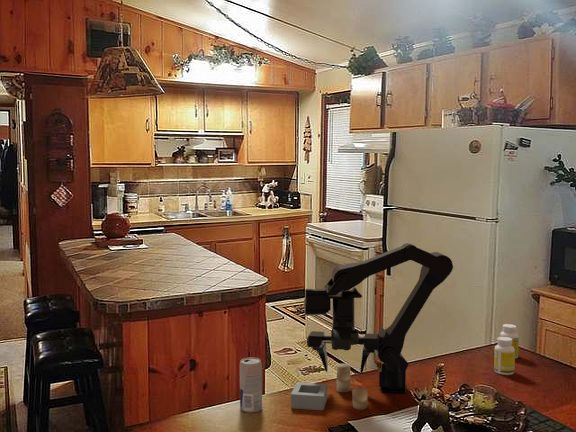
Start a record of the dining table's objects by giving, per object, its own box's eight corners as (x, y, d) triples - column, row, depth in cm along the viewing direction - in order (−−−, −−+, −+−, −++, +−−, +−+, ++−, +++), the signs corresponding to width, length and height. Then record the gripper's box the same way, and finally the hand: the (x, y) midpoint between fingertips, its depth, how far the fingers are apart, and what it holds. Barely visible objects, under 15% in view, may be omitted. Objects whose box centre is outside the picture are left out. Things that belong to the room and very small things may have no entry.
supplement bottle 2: (518, 372, 161) (519, 339, 161) (506, 376, 158) (507, 342, 158) (501, 367, 166) (502, 334, 165) (490, 371, 163) (490, 338, 162)
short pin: (367, 403, 141) (367, 388, 140) (366, 409, 137) (366, 393, 137) (353, 402, 141) (353, 387, 141) (351, 408, 138) (351, 392, 137)
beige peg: (350, 387, 151) (350, 363, 151) (349, 392, 148) (349, 368, 147) (337, 386, 152) (337, 363, 151) (335, 391, 148) (335, 367, 148)
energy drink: (250, 402, 142) (250, 355, 141) (266, 408, 139) (266, 360, 138) (235, 409, 138) (234, 361, 137) (251, 415, 134) (251, 365, 134)
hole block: (327, 397, 145) (327, 384, 144) (323, 410, 137) (323, 396, 137) (296, 395, 146) (296, 382, 146) (290, 408, 138) (290, 394, 138)
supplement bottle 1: (516, 360, 172) (516, 328, 172) (497, 357, 175) (498, 326, 174) (519, 355, 177) (520, 324, 176) (501, 352, 180) (502, 322, 179)
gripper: (303, 320, 142) (304, 381, 143) (378, 323, 139) (378, 385, 140) (310, 310, 153) (310, 366, 154) (379, 312, 150) (380, 370, 151)
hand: (343, 372), depth 150 cm, fingers open, 9 cm apart
